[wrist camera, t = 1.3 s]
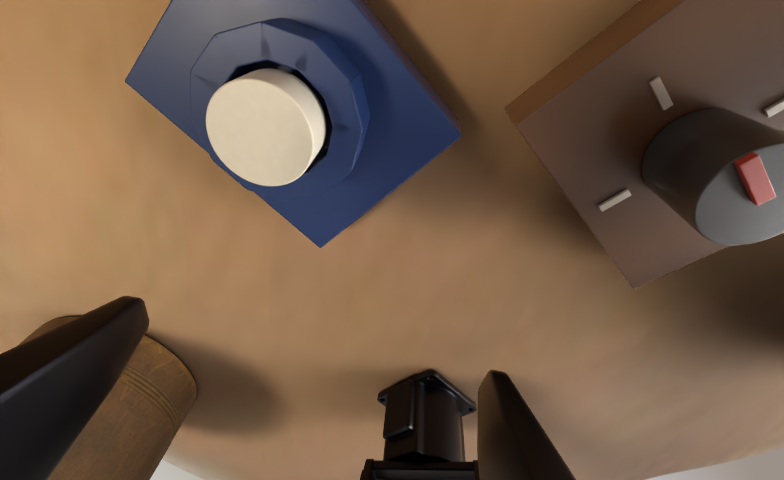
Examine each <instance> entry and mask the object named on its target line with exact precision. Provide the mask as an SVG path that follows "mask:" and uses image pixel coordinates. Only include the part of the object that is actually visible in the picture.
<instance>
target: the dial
mask: <svg viewBox="0 0 784 480" xmlns="http://www.w3.org/2000/svg"><path fill="white" fill-rule="evenodd" d="M642 176H643V179H644V181H645V183H646V185H647V186H648V187H649V188H650V189H651V190H652V191H653V192H654V193H655V194H656V195H657V196H659V197H660V198H661V199H662V200H663V201H664V202H665V203H666V204H667V205H669V206H670V207H671V208H672V209H673V210H674V211H675V212H676V213H677V214H679V215H680V216H681V217H682V218H683V219H684V220H685V221H686V222H688V223H689V224H690V225H691V226H692V227H693V228H694V229H695V230H696V231H698V232H699V233H700V234H701V235H702V236H703V237H705V238H706V239H708V240H710V241H712V242H715V243H719V244H725V245H745V244H751V243H756V242H760V241H763V240H766V239H769V238H772V237H774V236H777V235H779V234H781V233H783V232H784V132H783V131H780V130H778V129H775V128H773V127H770V126H768V125H765V124H763V123H760V122H758V121H755V120H752V119H750V118H747V117H745V116H742V115H740V114H737V113H735V112H732V111H729V110H726V109H719V108H711V109H704V110H699V111H695V112H692V113H689V114H687V115H685V116H683V117H681V118H679V119H677V120H675V121H674V122H672V123H671V124H669V125H668V126H667V127H665V128H664V129H663V130H662V131H661V132H660V133H659V134H658V135H657V136H656V137H655V138H654V140H653V141H652V142H651V144H650V145H649V147H648V149H647V151H646V153H645V155H644V158H643V162H642Z"/></svg>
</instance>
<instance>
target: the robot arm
mask: <svg viewBox="0 0 784 480" xmlns="http://www.w3.org/2000/svg"><path fill="white" fill-rule="evenodd" d="M148 326H149V318H148V314H147V310H146V307H145V303H144V301H143V300H142V299H141V298H136V297H131V296H123V297H120V298H118V299H116V300H114V301H111V302H109V303H107V304H105V305H103V306H101V307H99V308H97V309H95V310H92V311H90V312H88V313H86V314H84V315H82V316H80V317H78V318H76V319H74V320H71V321H69V322H67V323H65V324H63V325H61V326H59V327H57V328H55V329H52V330H50V331H48V332H46V333H44V334H42V335H40V336H38V337H36V338H33V339H31V340H29V341H27V342H25V343H23V344H21V345H19V346H17V347H14V348H12V349H10V350H8V351H6V352H4V353H2V354H0V480H47V479H48V478H49V477H50V475H51V474H52V472H53V471H54V470H55V468H56V467H57V465H58V464H59V463H60V461H61V460H62V458H63V457H64V456H65V454H66V453H67V451H68V450H69V449H70V447H71V446H72V444H73V443H74V442H75V440H76V439H77V438H78V436H79V435H80V433H81V432H82V431H83V429H84V428H85V426H86V425H87V424H88V422H89V421H90V419H91V418H92V417H93V415H94V414H95V412H96V411H97V410H98V408H99V407H100V405H101V404H102V403H103V401H104V400H105V399H106V397H107V396H108V394H109V393H110V391H111V390H112V388H113V387H114V386H115V384H116V382H117V381H118V379H119V377H120V376H121V374H122V372H123V371H124V369H125V367H126V365H127V364H128V362H129V360H130V358H131V357H132V355H133V353H134V352H135V350H136V348H137V346H138V345H139V343H140V341H141V339H142V338H143V336H144V334H145V332H146V331H147V329H148ZM377 400H378V402H380V403H381V404H383V405H384V406H385V407H386V412H385V421H384V430H383V438H384V439H385V448H384V457H383V461H374V459H366V462H365V466H364V470H362V473H361V477H360V480H576V479H575V477H574V476H573V474H572V473H571V471H570V470H569V468H568V467H567V465H566V464H565V462H564V461H563V459H562V457H561V456H560V454H559V453H558V451H557V450H556V448H555V447H554V445H553V444H552V442H551V441H550V439H549V438H548V436H547V434H546V433H545V431H544V430H543V428H542V427H541V425H540V424H539V422H538V421H537V419H536V418H535V416H534V414H533V413H532V411H531V410H530V408H529V407H528V405H527V404H526V402H525V401H524V399H523V398H522V396H521V395H520V393H519V391H518V390H517V388H516V387H515V385H514V384H513V382H512V381H511V379H510V378H509V376H508V375H507V374H506V373H505V372H501V371H497V370H490V371H489V372H488V373H487V375H486V377H485V379H484V380H483V382H482V384H481V386H480V388H479V391H478V438H477V451H478V460H473V462H465V449H464V435H463V422H462V416H465V415H467V414H470V413H473V412H475V411H476V404H475V403H474V402H473V401H471V400H470V399H469V398H468V397H467V396H465V395H464V394H463V393H462V392H460V391H459V390H458V389H457V388H455V387H454V386H453V385H452V384H451V383H449V382H448V381H447V380H446V379H444V378H443V377H442V376H441V375H439V374H438V373H437V372H436V371H434V370H427V371H425V372H423V373H421V374H419V375H417V376H414V377H412V378H410V379H408V380H406V381H404V382H402V383H400V384H398V385H395V386H393V387H391V388H389V389H387V390H385V391H383V392H381V393H379V394H378V397H377Z"/></svg>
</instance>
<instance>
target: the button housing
mask: <svg viewBox="0 0 784 480" xmlns="http://www.w3.org/2000/svg"><path fill="white" fill-rule="evenodd" d="M266 68H271V69H278V70H282V71H285V72H288V73H290V74H292V75H294V76H296V77H297V78H299V79H300V80H301V81H303V82H304V83H305V84H306V85H307V86H308V87H309V88H310V89H311V90H312V91H313V92H314V94H315V95H316V97H317V98H318V100H319V102H320V104H321V106H322V108H323V111H324V115H325V119H326V136H325V140H324V144H323V146H322V148H321V150H320V151H319V153H318V154H317V156H316V157H315V158H314V160H313V161H312V163H311V164H310V165H309V167H308V168H307V170H306V171H305V172H304V173H303V174H302V175H301V176H300V177H299V178H298V179H296V180H295V181H293V182H291V183H288V184H285V185H281V186H263V185H258V184H255V183H252V182H249V181H247V180H245V179H243V178H241V177H240V176H238V175H237V174H235V173H234V172H233V171H231V170H230V169H229V168H228V167H227V166H226V165H225V164H224V163H223V162H222V161H221V160H220V158H219V157H218V155H217V154H216V152H215V151H214V149H213V147H212V145H211V143H210V140H209V137H208V134H207V129H206V112H207V107H208V104H209V102H210V99H211V98H212V96H213V94H214V93H215V92H216V91H217V90H218V89H219V88H220V87H221V86H223V85H224V84H226V83H228V82H230V81H232V80H234V79H236V78H239V77H241V76H243V75H245V74H248V73H250V72H252V71H255V70H258V69H266ZM125 82H126V83H127V84H128V85H129V86H130V87H132V88H133V89H134V90H135V91H136V92H138V93H139V94H140V95H141V96H142V97H143V98H145V99H146V100H147V101H148V102H149V103H150V104H152V105H153V106H154V107H155V108H156V109H157V110H159V111H160V112H161V113H162V114H163V115H165V116H166V117H167V118H168V119H169V120H170V121H172V122H173V123H174V124H175V125H176V126H177V127H179V128H180V129H181V130H182V131H183V132H184V133H186V134H187V135H188V136H189V137H190V138H192V139H193V140H194V141H195V142H196V143H197V144H199V145H200V146H201V147H202V148H203V149H204V150H206V151H207V152H208V153H209V155H210V157H211V158H212V159H213V161H214V162H215V163H216V164H217V165H218V166H220V167H221V168H222V169H223V170H224V171H226V172H227V173H228V174H229V175H230V176H231V177H233V178H234V179H235V180H236V181H237V182H239V183H240V184H241V185H242V186H243V187H244V188H247V190H250V191H254V192H255V193H256V194H257V195H258V196H260V197H261V198H262V199H263V200H264V201H265V202H267V203H268V204H269V205H270V206H271V207H272V208H274V209H275V210H276V211H277V212H278V213H280V214H281V215H282V216H283V217H284V218H285V219H287V220H288V221H289V222H290V223H291V224H292V225H294V226H295V227H296V228H297V229H298V230H299V231H301V232H302V233H303V234H304V235H305V236H307V237H308V238H309V239H310V240H311V241H312V242H314V243H315V244H316V245H317V246H318V247H319V248H321V247H322V246H324V245H325V244H326V243H328V242H329V241H330V240H331V239H333V238H334V237H335V236H336V235H338V234H339V233H340V232H341V231H343V230H344V229H345V228H347V227H348V226H349V225H350V224H352V223H353V222H354V221H355V220H357V219H358V218H359V217H360V216H362V215H363V214H364V213H366V212H367V211H368V210H369V209H371V208H372V207H373V206H374V205H376V204H377V203H378V202H379V201H381V200H382V199H383V198H384V197H386V196H387V195H388V194H390V193H391V192H392V191H393V190H395V189H396V188H397V187H398V186H400V185H401V184H402V183H403V182H405V181H406V180H407V179H409V178H410V177H411V176H412V175H414V174H415V173H416V172H417V171H419V170H420V169H421V168H422V167H424V166H425V165H426V164H427V163H429V162H430V161H431V160H433V159H434V158H435V157H436V156H438V155H439V154H440V153H441V152H443V151H444V150H445V149H446V148H448V147H449V146H450V145H452V144H453V143H454V142H455V141H457V140H458V139H459V138H460V137H461V136H462V135H461V130H460V126H459V121H458V118H457V117H456V116H455V114H454V113H453V112H452V111H451V109H450V108H449V107H448V105H447V104H446V103H445V102H444V100H443V99H442V98H441V97H440V95H439V94H438V93H437V92H436V90H435V89H434V88H433V87H432V85H431V84H430V83H429V82H428V80H427V79H426V78H425V77H424V75H423V74H422V73H421V71H420V70H419V69H418V68H417V66H416V65H415V64H414V63H413V61H412V60H411V59H410V58H409V56H408V55H407V54H406V53H405V51H404V50H403V49H402V48H401V46H400V45H399V44H398V43H397V41H396V40H395V39H394V38H393V36H392V35H391V34H390V32H389V31H388V30H387V29H386V27H385V26H384V25H383V24H382V22H381V21H380V20H379V19H378V17H377V16H376V15H375V14H374V12H373V11H372V10H371V9H370V7H369V6H368V5H367V4H366V2H365V1H364V0H172V1H171V2H170V4H169V6H168V8H167V9H166V11H165V13H164V14H163V16H162V18H161V20H160V21H159V23H158V25H157V26H156V28H155V30H154V31H153V33H152V35H151V37H150V38H149V40H148V42H147V43H146V45H145V47H144V49H143V50H142V52H141V54H140V55H139V57H138V59H137V61H136V62H135V64H134V66H133V67H132V69H131V71H130V73H129V74H128V76H127V78H126V79H125Z"/></svg>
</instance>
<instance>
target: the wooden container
mask: <svg viewBox="0 0 784 480" xmlns="http://www.w3.org/2000/svg"><path fill="white" fill-rule="evenodd" d="M76 318H78V317H63V318H58V319H54V320H51V321H49V322H47V323H45V324H43V325H42V326H41V327H39V328H38V329H37V330H36V331H34V332H33V333H32V334H31V335H30V336H28V337H27V338H26V339H25V340H24V341H23V342H21V343H20V344H19V345H21V344H23V343H25V342H27V341H29V340H31V339H33V338H36V337H38V336H40V335H42V334H44V333H46V332H48V331H50V330H52V329H55V328H57V327H59V326H61V325H63V324H65V323H67V322H69V321H71V320H74V319H76ZM19 345H18V346H19ZM196 395H197V389H196V383H195V381H194V379H193V377H192V375H191V374H190V372H189V371H188V369H187V368H186V367H185V365H184V364H183V363H182V362H181V361H180V360H179V359H178V358H177V357H176V356H175V355H173V354H172V353H171V352H170V351H169V350H167V349H166V348H165V347H163V346H162V345H160V344H159V343H157V342H156V341H154V340H152V339H150V338H149V337H147V336H145V335H144V336H143V338H142V339H141V341H140V343H139V345H138V346H137V348H136V350H135V352H134V353H133V355H132V357H131V358H130V360H129V362H128V364H127V365H126V367H125V369H124V371H123V372H122V374H121V376H120V377H119V379H118V381H117V382H116V384H115V386H114V387H113V388H112V390H111V391H110V393H109V394H108V396H107V397H106V399H105V400H104V401H103V403H102V404H101V405H100V407H99V408H98V410H97V411H96V412H95V414H94V415H93V417H92V418H91V419H90V421H89V422H88V424H87V425H86V426H85V428H84V429H83V431H82V432H81V433H80V435H79V436H78V438H77V439H76V440H75V442H74V443H73V444H72V446H71V447H70V449H69V450H68V451H67V453H66V454H65V456H64V457H63V458H62V460H61V461H60V463H59V464H58V465H57V467H56V468H55V470H54V471H53V472H52V474H51V475H50V477H49V478H48V479H47V480H150V478H151V476H152V475H153V473H154V471H155V469H156V468H157V466H158V465H159V463H160V461H161V460H162V458H163V456H164V454H165V453H166V451H167V449H168V447H169V446H170V444H171V442H172V440H173V438H174V436H175V435H176V433H177V431H178V430H179V428H180V426H181V424H182V423H183V421H184V419H185V418H186V416H187V414H188V413H189V411H190V409H191V407H192V406H193V404H194V402H195V399H196Z"/></svg>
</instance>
